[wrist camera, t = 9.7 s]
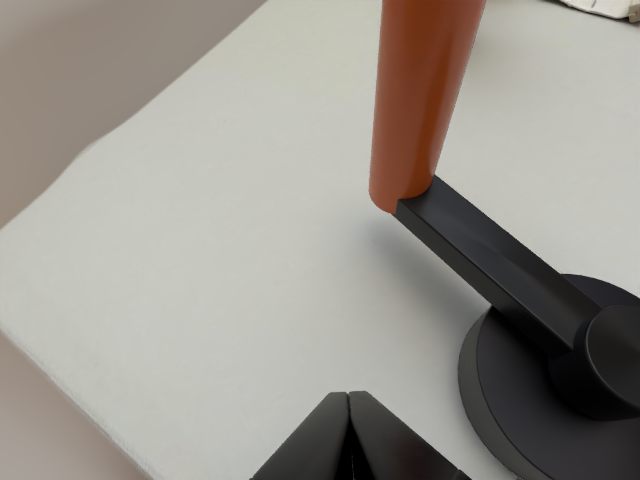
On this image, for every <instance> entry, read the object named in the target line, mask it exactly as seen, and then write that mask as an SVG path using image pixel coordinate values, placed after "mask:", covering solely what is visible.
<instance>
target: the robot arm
mask: <svg viewBox="0 0 640 480" xmlns="http://www.w3.org/2000/svg"><path fill="white" fill-rule="evenodd" d="M348 401H349V403H348ZM352 462H353V464H352ZM353 477H354V480H472V479H471V478H470V477H468V476H467V475H466V474H465V473H464V472H462V471H461V470H458V469H457V467H455V466H454V465H453V464H452V463H451V462H450V461H448V460H447V459H446V458H445V457H444V456H443V455H441V454H440V453H439V452H438V451H437V450H435V449H434V448H433V447H432V446H431V445H430V444H428V443H427V442H426V441H425V440H424V439H422V438H421V437H420V436H419V435H418V434H417V433H415V432H414V431H413V430H412V429H411V428H409V427H408V426H407V425H406V424H405V423H404V422H402V421H401V420H400V419H399V418H398V417H397V416H395V415H394V414H393V413H392V412H391V411H389V410H388V409H387V408H386V407H385V406H384V405H382V404H381V403H380V402H379V401H378V400H376V399H375V398H374V397H373V396H372V395H371V394H369V393H368V392H367V391H352V392H349V394H347V393H346V392H331V393H329V394H328V395H327V396H326V397H325V398H324V399H323V400H322V401H321V402H320V403H319V405H318V406H317V407H316V408H315V409H314V410H313V411H312V412H311V413H310V414H309V416H308V417H307V418H306V419H305V420H304V421H303V422H302V423H301V424H300V425H299V426H298V428H297V429H296V430H295V431H294V432H293V433H292V434H291V435H290V436H289V437H288V438H287V440H286V441H285V442H284V443H283V444H282V445H281V446H280V447H279V448H278V449H277V451H276V452H275V453H274V454H273V455H272V456H271V457H270V458H269V459H268V460H267V461H266V463H265V464H264V465H263V466H262V467H261V468H260V469H259V470H258V471H257V472H256V474H255V475H254V476H253V478H250V479H249V480H353Z"/></svg>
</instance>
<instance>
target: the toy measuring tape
mask: <svg viewBox="0 0 640 480" xmlns="http://www.w3.org/2000/svg"><path fill="white" fill-rule="evenodd" d="M559 1H562V2H564V3H566V4H567V5H568V6H569V7H571V6H572V7H575V8H576V9H579V10H582V11H585V12H591V13H596V14H600V15H604V16H607V17H611V18H614V19H621V18H624V17H627V16H629V20H630V23H631V22H636V21H640V0H559Z"/></svg>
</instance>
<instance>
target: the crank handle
mask: <svg viewBox="0 0 640 480" xmlns="http://www.w3.org/2000/svg"><path fill="white" fill-rule="evenodd" d="M485 3H486V0H382V12H381V26H380V40H379V53H378V67H377V81H376V95H375V108H374V122H373V136H372V149H371V163H370V177H369V195H370V198H371V199H372V201H373V202H374V204H375V205H376V206H377V207H379V208H380V209H381V210H383V211H385V212H388V213H391V214H392V215H393V216H394V217H395V218H396V219H397V220H398V221H400V222H401V223H402V224H403V225H404V226H405V227H406V228H407V229H408V230H410V231H411V232H412V233H413V234H414V235H415V236H416V237H417V238H418V239H420V240H421V241H422V242H423V243H424V244H425V245H426V246H427V247H428V248H430V249H431V250H432V251H433V252H434V253H435V254H436V255H437V256H438V257H440V258H441V259H442V260H443V261H444V262H445V263H446V264H447V265H448V266H450V267H451V268H452V269H453V270H454V271H455V272H456V273H457V274H458V275H459V276H461V277H462V278H463V279H464V280H465V281H466V282H467V283H468V284H469V285H471V286H472V287H473V288H474V289H475V290H476V291H477V292H478V293H479V294H481V295H482V296H483V297H484V298H485V299H486V300H487V301H488V302H489V303H491V304H492V305H493V306H494V307H495V308H496V309H497V310H498V311H499V312H501V313H502V314H503V315H504V316H505V317H506V318H507V319H508V320H509V321H511V322H512V323H513V324H514V325H515V326H516V327H517V328H518V329H519V330H521V331H522V332H523V333H524V334H525V335H526V336H527V337H528V338H529V339H530V340H532V341H533V342H534V343H535V344H536V345H537V346H538V347H539V348H540V349H542V350H543V351H544V352H545V353H546V354H547V355H548V369H549V373H550V376H551V379H552V381H553V383H554V385H555V387H556V389H557V390H558V392H559V393H560V394H561V396H562V397H563V398H564V399H565V400H566V401H567V402H568V403H569V404H570V405H571V406H573V407H574V408H575V409H577V410H578V411H580V412H581V413H583V414H585V415H587V416H590V417H592V418H595V419H598V420H604V421H618V420H626V419H633V418H640V307H637V306H630V305H617V306H612V307H608V308H605V309H604V308H602V307H601V306H600V305H599V304H597V303H596V302H595V301H593V300H592V299H591V298H590V297H588V296H587V295H586V294H585V293H583V292H582V291H581V290H580V289H578V288H577V287H576V286H575V285H573V284H572V283H571V282H570V281H568V280H567V279H566V278H565V277H563V276H562V275H561V274H560V273H558V272H557V271H556V270H554V269H553V268H552V267H551V266H549V265H548V264H547V263H546V262H544V261H543V260H542V259H541V258H539V257H538V256H537V255H536V254H534V253H533V252H532V251H531V250H529V249H528V248H527V247H526V246H524V245H523V244H522V243H521V242H519V241H518V240H517V239H515V238H514V237H513V236H512V235H510V234H509V233H508V232H507V231H505V230H504V229H503V228H502V227H500V226H499V225H498V224H497V223H495V222H494V221H493V220H492V219H490V218H489V217H488V216H487V215H485V214H484V213H483V212H482V211H480V210H479V209H478V208H476V207H475V206H474V205H473V204H471V203H470V202H469V201H468V200H466V199H465V198H464V197H463V196H461V195H460V194H459V193H458V192H456V191H455V190H454V189H453V188H451V187H450V186H449V185H448V184H446V183H445V182H444V181H442V180H441V179H440V178H439V177H437V176H436V175H435V174H434V173H435V170H436V167H437V163H438V160H439V157H440V153H441V150H442V147H443V143H444V140H445V137H446V133H447V130H448V127H449V123H450V120H451V117H452V113H453V110H454V107H455V103H456V100H457V97H458V93H459V90H460V87H461V83H462V80H463V77H464V73H465V70H466V67H467V63H468V60H469V57H470V53H471V50H472V47H473V43H474V40H475V37H476V33H477V30H478V27H479V23H480V20H481V17H482V13H483V10H484V7H485Z"/></svg>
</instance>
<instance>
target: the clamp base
mask: <svg viewBox="0 0 640 480" xmlns="http://www.w3.org/2000/svg"><path fill="white" fill-rule="evenodd" d="M561 275H562V276H563V277H565V278H566V279H567V280H568V281H570V282H571V283H572V284H573V285H575V286H576V287H577V288H578V289H580V290H581V291H582V292H583V293H585V294H586V295H587V296H588V297H590V298H591V299H592V300H593V301H595V302H596V303H597V304H599V305H600V306H601V307H602V308H604V309H605V308H608V307H612V306H617V305H630V306H637V307H640V298H638V297H637V296H635V295H633V294H631V293H629V292H628V291H626V290H624V289H622V288H620V287H617V286H615V285H613V284H610V283H608V282H605V281H602V280H598V279H595V278H591V277H586V276H582V275H573V274H561ZM458 382H459V389H460V394H461V398H462V402H463V405H464V408H465V411H466V413H467V416H468V418H469V420H470V422H471V424H472V426H473V428H474V430H475V431H476V433H477V434H478V436H479V437H480V439H481V440H482V442H483V443H484V444H485V445H486V447H487V448H488V449H489V450H490V451H491V453H492V454H493V455H494V456H495V457H496V458H497V459H498V460H499V461H500V462H501V463H503V464H504V465H505V466H506V467H507V468H509V469H510V470H511V471H512V472H514V473H515V474H516V475H518V476H519V477H521V478H523V479H524V480H640V418H633V419H626V420H618V421H604V420H598V419H595V418H592V417H590V416H587V415H585V414H583V413H581V412H580V411H578V410H577V409H575V408H574V407H573V406H571V405H570V404H569V403H568V402H567V401H566V400H565V399H564V398H563V397H562V396H561V394H560V393H559V392H558V390H557V389H556V387H555V385H554V383H553V381H552V379H551V376H550V373H549V369H548V355H547V354H546V353H545V352H544V351H543V350H542V349H540V348H539V347H538V346H537V345H536V344H535V343H534V342H533V341H532V340H530V339H529V338H528V337H527V336H526V335H525V334H524V333H523V332H522V331H521V330H519V329H518V328H517V327H516V326H515V325H514V324H513V323H512V322H511V321H509V320H508V319H507V318H506V317H505V316H504V315H503V314H502V313H501V312H499V311H498V310H497V309H496V308H495V307H494V306H493V305H491V306H490V307H489V308H488V309H487V311H486V312H485V313H484V314H483V315H482V316H481V317H480V318H479V319H478V320H477V321H476V323H475V324H474V325H473V326H472V328H471V329H470V331H469V332H468V334H467V336H466V338H465V340H464V342H463V345H462V348H461V352H460V355H459V363H458Z"/></svg>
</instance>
